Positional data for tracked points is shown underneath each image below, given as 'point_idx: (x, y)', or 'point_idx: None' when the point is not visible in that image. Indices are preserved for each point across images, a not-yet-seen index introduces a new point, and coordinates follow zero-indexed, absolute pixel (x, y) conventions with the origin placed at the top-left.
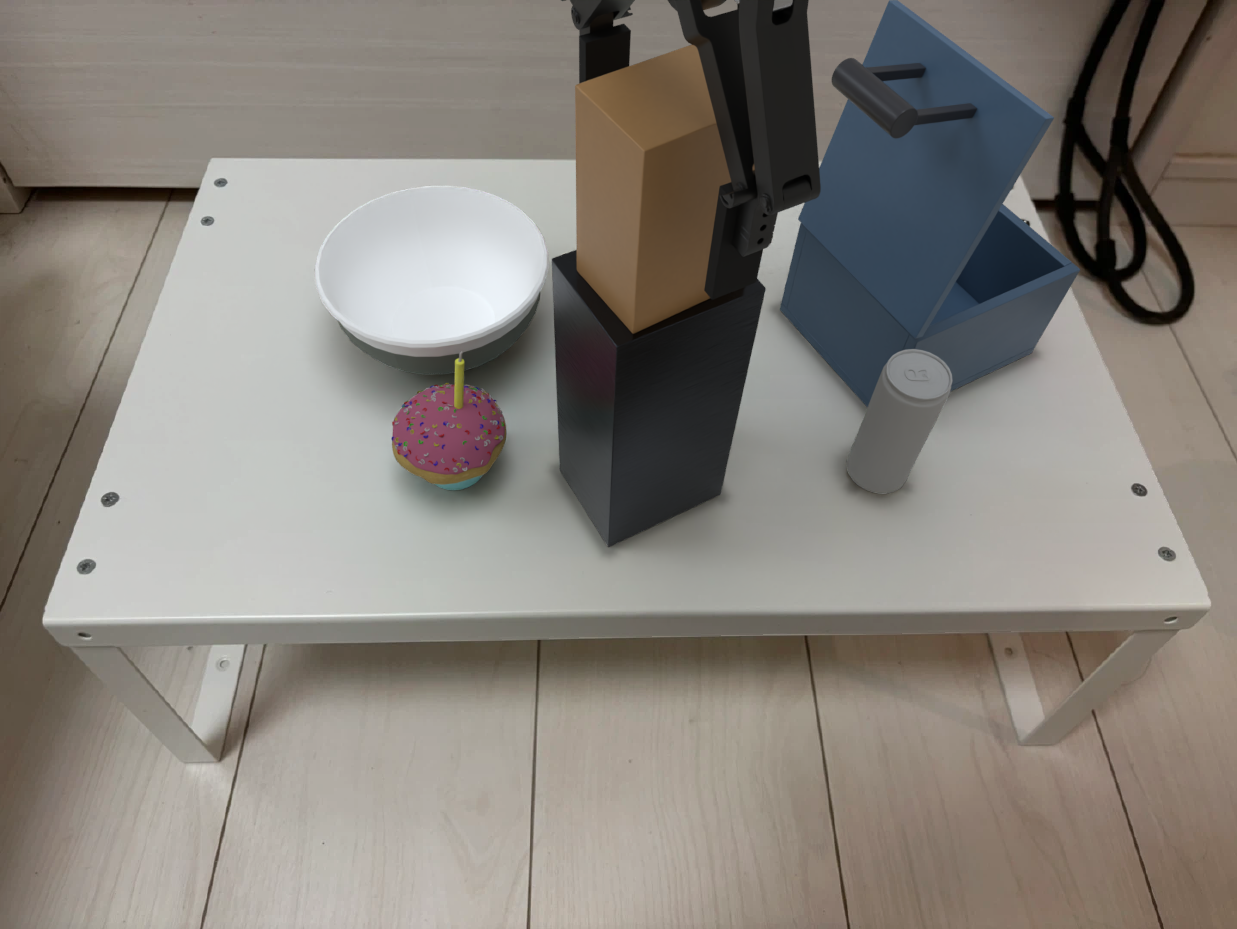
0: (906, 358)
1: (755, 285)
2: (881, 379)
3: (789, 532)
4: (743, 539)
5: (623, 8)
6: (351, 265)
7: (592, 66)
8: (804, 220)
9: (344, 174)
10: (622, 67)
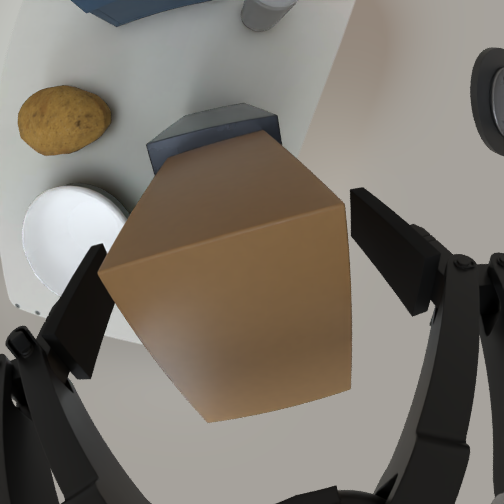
0: None
1: (271, 123)
2: (266, 8)
3: (280, 77)
4: (276, 102)
5: (51, 371)
6: (68, 278)
7: (94, 347)
8: (91, 9)
9: (3, 259)
10: (76, 305)
